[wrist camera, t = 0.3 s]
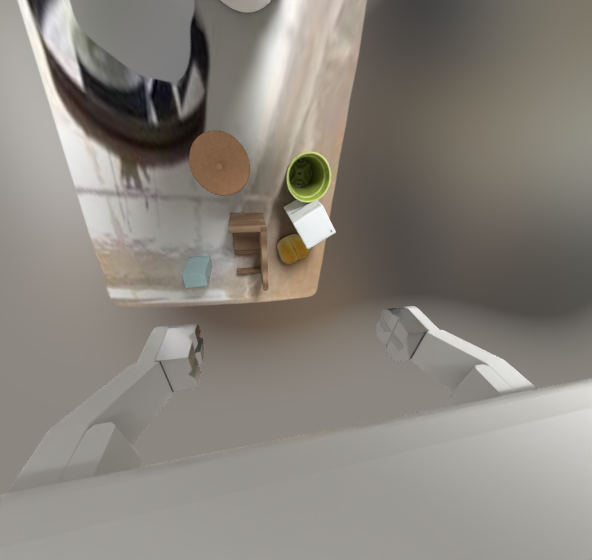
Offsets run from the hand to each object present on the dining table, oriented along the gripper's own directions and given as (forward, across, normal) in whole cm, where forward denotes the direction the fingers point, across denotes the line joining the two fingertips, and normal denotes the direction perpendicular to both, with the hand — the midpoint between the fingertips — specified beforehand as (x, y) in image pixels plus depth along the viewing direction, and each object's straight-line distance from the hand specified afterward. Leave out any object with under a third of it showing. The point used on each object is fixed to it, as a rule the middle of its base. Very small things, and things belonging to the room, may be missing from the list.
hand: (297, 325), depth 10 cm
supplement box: (+48, -12, +8) cm, 50 cm away
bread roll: (+49, -10, +19) cm, 53 cm away
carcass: (+48, +2, +18) cm, 51 cm away
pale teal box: (+48, +15, +22) cm, 55 cm away
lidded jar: (+48, +7, -2) cm, 49 cm away
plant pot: (+48, -10, 0) cm, 49 cm away
